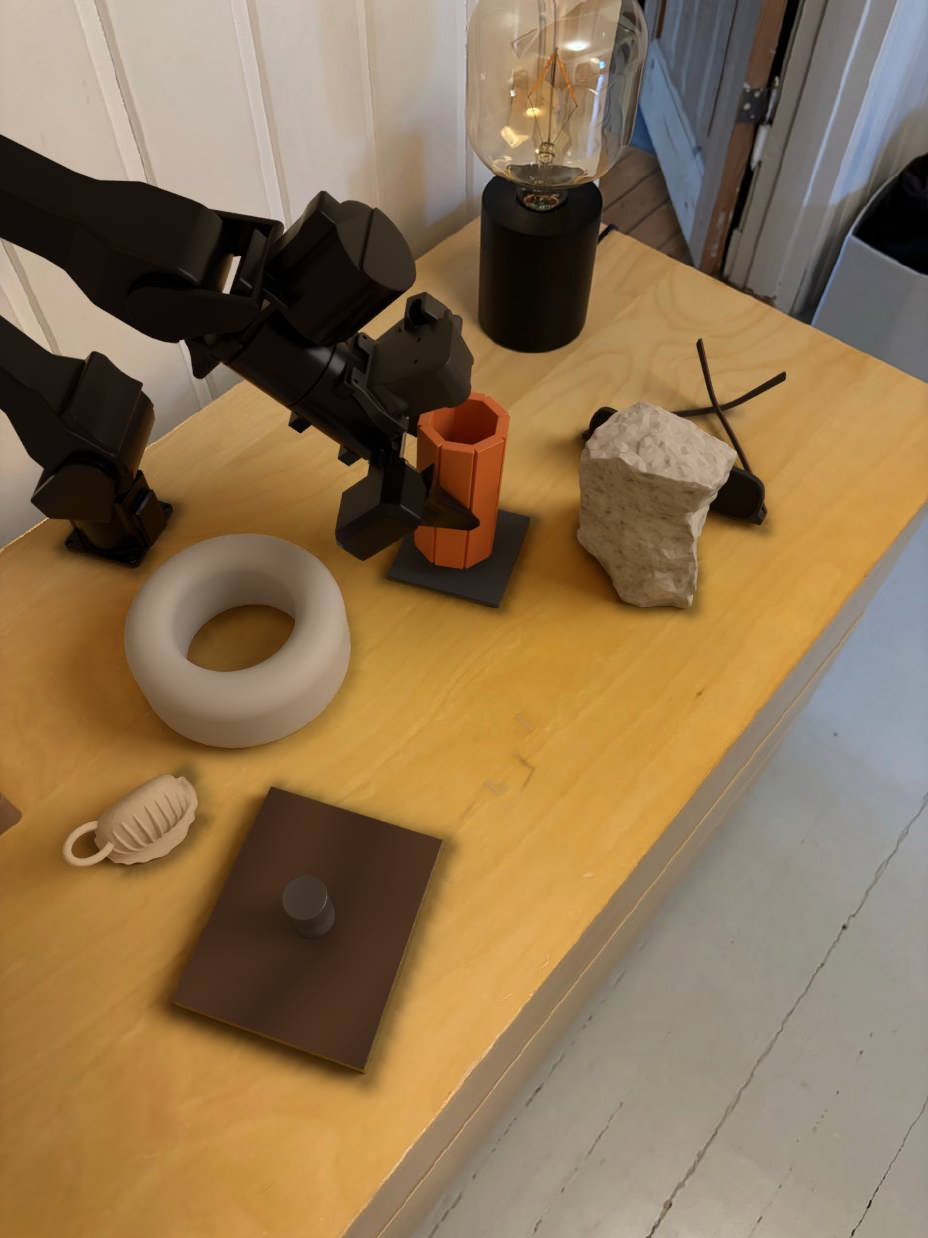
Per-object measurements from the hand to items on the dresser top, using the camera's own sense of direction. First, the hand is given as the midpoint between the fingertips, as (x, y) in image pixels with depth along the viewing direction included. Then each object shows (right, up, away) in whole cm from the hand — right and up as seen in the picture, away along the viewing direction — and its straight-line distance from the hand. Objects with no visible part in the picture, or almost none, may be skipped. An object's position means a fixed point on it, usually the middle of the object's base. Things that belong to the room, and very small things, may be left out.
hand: (478, 492), depth 68 cm
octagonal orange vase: (-2, -3, +4) cm, 5 cm away
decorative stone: (+13, -4, +6) cm, 14 cm away
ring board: (-10, -28, -10) cm, 32 cm away
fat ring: (-17, -12, 0) cm, 21 cm away
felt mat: (-1, -4, +6) cm, 7 cm away
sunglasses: (+19, +6, +12) cm, 24 cm away
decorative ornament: (-22, -23, -7) cm, 33 cm away
